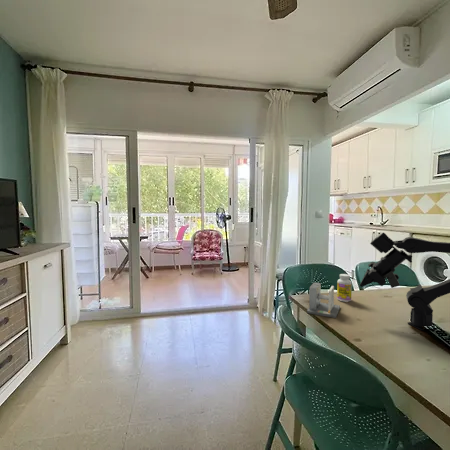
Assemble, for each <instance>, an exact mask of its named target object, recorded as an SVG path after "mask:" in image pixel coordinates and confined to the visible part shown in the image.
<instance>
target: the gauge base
mask: <svg viewBox="0 0 450 450" xmlns="http://www.w3.org/2000/svg"><path fill="white" fill-rule="evenodd" d="M340 309H341V305H339V304H334V306H333V308H332V310H331V312H330V313H328V302H327V303H325V302H321V301H320V305H319V307H318V309H317V310H316V311H315V310H309V308H307V310H306V313H307V314H310V315H311V314H312V315H316V316H323V317H328V318H333V319H337V316H338V314H339V311H340Z"/></svg>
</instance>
